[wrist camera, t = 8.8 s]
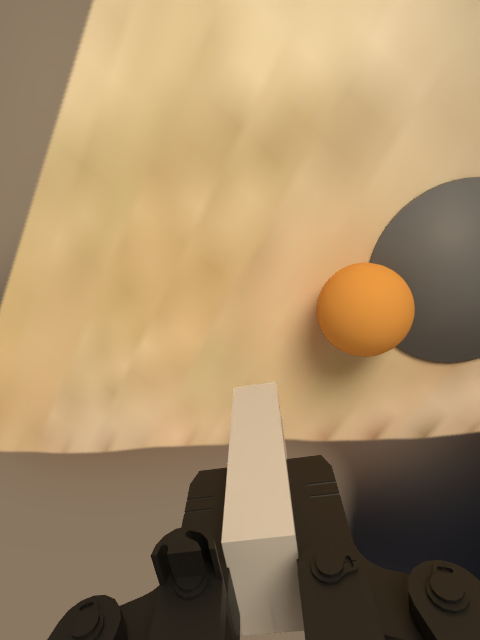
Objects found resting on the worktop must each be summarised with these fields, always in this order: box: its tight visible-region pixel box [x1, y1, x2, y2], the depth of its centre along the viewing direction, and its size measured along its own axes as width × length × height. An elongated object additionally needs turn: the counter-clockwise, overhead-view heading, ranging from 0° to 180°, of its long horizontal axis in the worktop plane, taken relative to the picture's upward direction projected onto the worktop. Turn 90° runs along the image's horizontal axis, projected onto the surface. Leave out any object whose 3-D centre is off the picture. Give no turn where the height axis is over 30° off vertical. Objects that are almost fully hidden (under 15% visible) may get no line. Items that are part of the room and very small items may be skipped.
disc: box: [370, 177, 480, 363], centre depth 26 cm, size 12×12×1 cm
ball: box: [317, 263, 415, 356], centre depth 24 cm, size 6×6×6 cm
